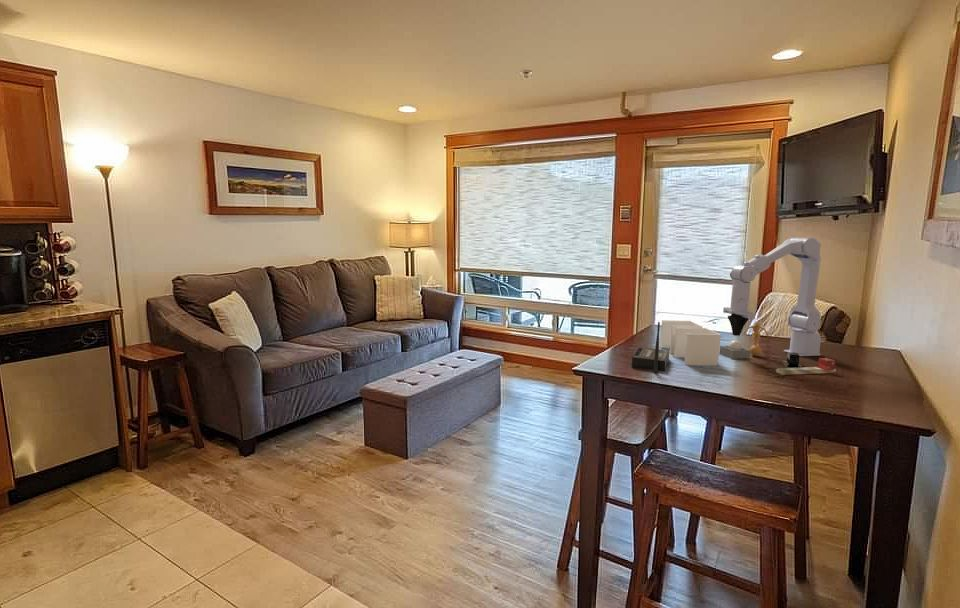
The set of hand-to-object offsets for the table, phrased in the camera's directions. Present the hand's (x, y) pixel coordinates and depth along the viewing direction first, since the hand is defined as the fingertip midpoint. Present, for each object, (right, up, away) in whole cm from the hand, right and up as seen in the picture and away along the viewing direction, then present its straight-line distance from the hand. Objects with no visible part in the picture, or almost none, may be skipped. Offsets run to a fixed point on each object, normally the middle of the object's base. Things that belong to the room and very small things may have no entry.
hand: (736, 335), depth 185 cm
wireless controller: (-36, -10, -13) cm, 40 cm away
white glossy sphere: (0, -6, +1) cm, 6 cm away
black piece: (+15, -10, -9) cm, 20 cm away
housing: (0, -8, +1) cm, 8 cm away
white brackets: (-18, -8, 0) cm, 20 cm away
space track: (+13, -11, -19) cm, 26 cm away
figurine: (+8, -8, +3) cm, 12 cm away
